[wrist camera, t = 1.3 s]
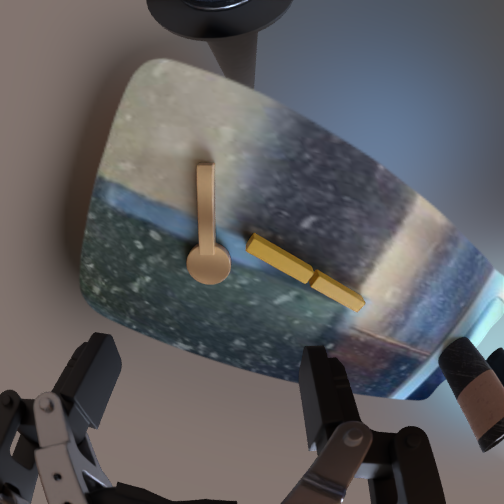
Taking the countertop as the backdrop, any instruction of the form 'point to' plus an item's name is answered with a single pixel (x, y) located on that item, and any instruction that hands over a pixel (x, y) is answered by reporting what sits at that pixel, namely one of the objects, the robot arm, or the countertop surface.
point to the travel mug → (475, 391)
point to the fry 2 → (336, 291)
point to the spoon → (207, 233)
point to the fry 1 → (279, 258)
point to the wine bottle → (497, 363)
